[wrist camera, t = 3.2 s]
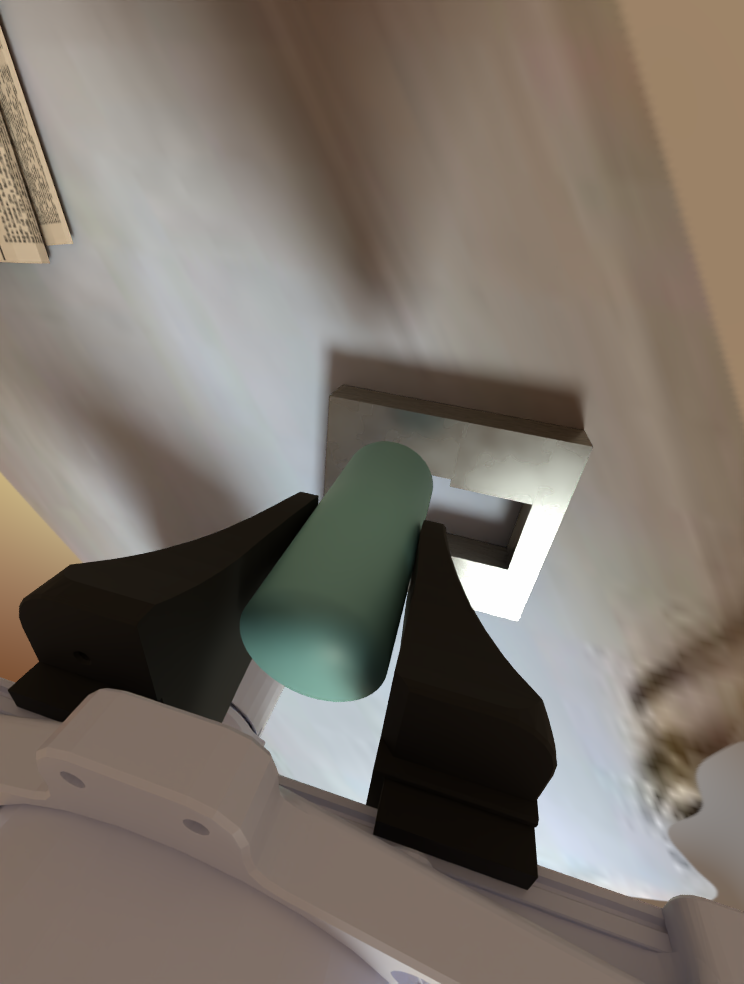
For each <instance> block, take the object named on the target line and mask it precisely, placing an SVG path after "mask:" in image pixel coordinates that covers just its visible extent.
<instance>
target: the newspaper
mask: <svg viewBox="0 0 744 984" xmlns="http://www.w3.org/2000/svg"><path fill="white" fill-rule="evenodd" d="M27 193H28V195H27ZM28 196H29V198H28ZM29 199H30V201H29ZM30 202H31V204H30ZM31 205H32V207H31ZM32 208H33V210H32ZM33 211H34V213H33ZM34 214H35V216H36V219H37V222H38V225H39V228H40V231H41V234H42V236H43V239H44V242H45V245H46V246H48V245H58V244H73V241H72V238H71V235H70V232H69V229H68V226H67V223H66V220H65V217H64V214H63V211H62V208H61V205H60V202H59V199H58V196H57V193H56V190H55V187H54V184H53V181H52V178H51V175H50V173H49V170H48V167H47V164H46V161H45V158H44V155H43V152H42V149H41V146H40V143H39V140H38V137H37V134H36V131H35V128H34V125H33V122H32V119H31V116H30V113H29V110H28V107H27V104H26V101H25V98H24V95H23V92H22V89H21V86H20V83H19V80H18V77H17V74H16V71H15V68H14V65H13V62H12V59H11V56H10V53H9V50H8V47H7V44H6V41H5V38H4V35H3V32H2V29H1V26H0V262H14V263H50V261H49V258H48V255H47V252H46V249H45V246H44V243H43V240H42V237H41V234H40V231H39V228H38V225H37V222H36V219H35V216H34Z"/></svg>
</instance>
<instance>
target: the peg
mask: <svg viewBox="0 0 744 984" xmlns="http://www.w3.org/2000/svg"><path fill="white" fill-rule="evenodd" d="M432 490H433V480H432V475H431V472H430V470H429V467H428V466H427V464H426V462H425V461H424V460H423V459H422V457H421V456H420V455H418V454H417V453H416V452H415V451H414V450H412V449H410V448H409V447H407V446H405V445H402V444H399V443H395V442H389V441H381V442H375V443H371V444H368V445H366V446H364V447H362V448H361V449H360V450H358V451H357V452H356V453H355V454H354V455H353V457H352V458H351V460H350V461H349V462H348V464H347V465H346V467H345V468H344V469H343V471H342V472H341V474H340V475H339V476H338V478H337V479H336V481H335V482H334V483H333V485H332V486H331V488H330V489H329V490H328V492H327V493H326V495H325V496H324V497H323V499H322V500H321V502H320V503H319V504H318V506H317V507H316V509H315V510H314V511H313V513H312V514H311V516H310V517H309V518H308V520H307V521H306V523H305V524H304V525H303V527H302V528H301V530H300V531H299V532H298V534H297V535H296V537H295V538H294V539H293V541H292V542H291V544H290V545H289V546H288V548H287V549H286V551H285V552H284V553H283V555H282V556H281V558H280V559H279V560H278V562H277V563H276V565H275V566H274V567H273V569H272V570H271V572H270V573H269V574H268V576H267V577H266V579H265V580H264V581H263V583H262V584H261V586H260V587H259V588H258V590H257V591H256V593H255V594H254V595H253V597H252V598H251V600H250V601H249V602H248V604H247V605H246V607H245V608H244V610H243V612H242V614H241V618H240V634H241V638H242V641H243V643H244V646H245V648H246V650H247V651H248V653H249V655H250V656H251V657H252V659H253V660H254V661H255V663H256V664H257V665H258V666H259V667H260V668H261V669H262V670H263V671H264V672H265V673H267V674H268V675H269V676H270V677H272V678H273V679H274V680H276V681H277V682H279V683H280V684H282V685H283V686H285V687H287V688H289V689H291V690H293V691H295V692H297V693H300V694H302V695H305V696H308V697H311V698H315V699H319V700H325V701H333V702H346V701H354V700H358V699H361V698H364V697H367V696H369V695H370V694H372V693H374V692H375V691H376V690H377V689H378V688H379V687H380V686H381V685H382V683H383V682H384V680H385V678H386V675H387V671H388V667H389V663H390V659H391V655H392V651H393V647H394V643H395V639H396V635H397V631H398V627H399V623H400V619H401V615H402V611H403V607H404V603H405V599H406V595H407V591H408V587H409V583H410V579H411V575H412V571H413V567H414V562H415V556H416V551H417V546H418V541H419V536H420V531H421V528H422V524H423V521H424V520H425V519H426V515H427V511H428V507H429V503H430V499H431V495H432Z"/></svg>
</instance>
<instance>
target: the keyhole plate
mask: <svg viewBox="0 0 744 984" xmlns="http://www.w3.org/2000/svg"><path fill="white" fill-rule="evenodd" d="M381 441H389V442H395V443H399V444H402V445H405V446H407V447H409V448H410V449H412V450H414V451H415V452H416V453H417V454H418V455H420V456H421V457H422V459H423V460H424V461H425V462H426V464H427V466H428V467H429V470H430V472H431V475H433V476H438V477H442V478H447V479H451V483H450V487H455V488H459V489H464V490H468V491H473V492H477V493H482V494H486V495H491V496H495V497H500V498H504V499H509V500H514V501H518V502H523V504H522V507H521V510H520V513H519V515H518V518H517V521H516V524H515V527H514V529H513V532H512V535H511V538H510V540H509V543H508V546H507V548H506V547H502V546H497V545H493V544H489V543H485V542H481V541H477V540H472V539H468V538H464V537H460V536H456V535H452V534H447V533H446V535H447V541H448V545H449V550H450V553H451V557H452V560H453V563H454V566H455V569H456V572H457V574H458V577H459V580H460V582H461V584H462V587H463V589H464V591H465V594H466V596H467V598H468V600H469V602H470V604H471V606H472V608H473V610H477V611H481V612H485V613H488V614H492V615H496V616H500V617H503V618H507V619H511V620H515V621H518V620H519V617H520V615H521V613H522V610H523V608H524V606H525V603H526V601H527V599H528V596H529V594H530V592H531V589H532V587H533V585H534V583H535V580H536V578H537V576H538V573H539V571H540V569H541V566H542V564H543V562H544V559H545V557H546V555H547V552H548V550H549V548H550V546H551V543H552V541H553V539H554V536H555V534H556V532H557V529H558V527H559V525H560V522H561V520H562V518H563V515H564V513H565V511H566V509H567V506H568V504H569V502H570V499H571V497H572V495H573V492H574V490H575V488H576V485H577V483H578V481H579V479H580V476H581V474H582V472H583V469H584V467H585V465H586V462H587V460H588V458H589V455H590V453H591V451H592V448H593V446H592V444H591V442H590V440H589V438H588V436H587V434H586V432H585V431H584V430H580V429H574V428H569V427H564V426H558V425H553V424H548V423H543V422H537V421H532V420H527V419H521V418H516V417H511V416H505V415H500V414H495V413H490V412H484V411H479V410H474V409H468V408H463V407H458V406H452V405H447V404H442V403H437V402H431V401H426V400H421V399H415V398H410V397H405V396H399V395H394V394H389V393H384V392H378V391H373V390H368V389H362V388H357V387H352V386H346V385H342V386H340V387H339V388H338V389H337V390H336V391H334V392H333V393H332V394H331V395H330V396H329V413H328V431H327V449H326V466H325V484H324V496H325V495H326V493H327V492H328V490H329V489H330V488H331V486H332V485H333V483H334V482H335V481H336V479H337V478H338V476H339V475H340V474H341V472H342V471H343V469H344V468H345V467H346V465H347V464H348V462H349V461H350V460H351V458H352V457H353V455H354V454H355V453H356V452H357V451H358V450H360V449H361V448H362V447H364V446H366V445H368V444H371V443H375V442H381ZM410 580H411V579H410ZM409 585H410V583H409ZM408 589H409V587H408ZM407 592H408V591H407Z"/></svg>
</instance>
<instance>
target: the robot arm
mask: <svg viewBox="0 0 744 984" xmlns="http://www.w3.org/2000/svg"><path fill="white" fill-rule="evenodd" d="M317 506H318V496H317V495H313V494H308V493H304V492H299V493H297V494H295V495H293V496H291V497H289V498H287V499H285V500H284V501H282V502H280V503H278V504H276V505H274V506H272V507H270V508H268V509H266V510H265V511H263V512H261V513H259V514H257V515H255V516H253V517H251V518H248V519H246V520H244V521H242V522H240V523H237V524H235V525H233V526H231V527H229V528H226V529H224V530H221V531H219V532H216V533H214V534H211V535H208V536H205V537H202V538H200V539H197V540H193V541H190V542H187V543H183V544H180V545H176V546H172V547H169V548H165V549H162V550H157V551H153V552H148V553H144V554H139V555H134V556H129V557H123V558H117V559H111V560H103V561H96V562H88V563H80V564H72V565H69V566H68V567H66V568H65V569H64V570H62V571H61V572H60V573H58V574H57V575H55V576H54V577H53V578H51V579H50V580H48V581H47V582H46V583H44V584H43V585H42V586H40V587H39V588H37V589H36V590H35V591H33V592H32V593H30V594H29V595H28V596H26V597H25V598H24V599H23V600H22V602H21V604H20V606H19V607H20V608H19V618H20V621H21V624H22V627H23V629H24V631H25V633H26V635H27V637H28V639H29V641H30V643H31V646H32V648H33V650H34V652H35V654H36V656H37V658H38V660H39V662H38V663H37V664H36V665H35V666H34V667H33V668H32V669H30V670H29V671H28V672H27V673H26V674H25V675H24V676H23V677H22V678H20V679H19V680H18V681H17V682H16V683H14V682H12V681H9V680H6V679H3V678H0V984H744V911H741V910H738V909H735V908H732V907H729V906H726V905H723V904H720V903H717V902H714V901H711V900H708V899H706V898H702V897H698V896H694V895H679V896H676V897H673V898H672V899H670V900H669V901H668V902H667V904H666V905H665V906H664V907H663V908H660V907H657V906H654V905H651V904H648V903H645V902H642V901H639V900H636V899H634V898H631V897H628V896H625V895H622V894H620V893H617V892H614V891H611V890H608V889H605V888H602V887H599V886H597V885H594V884H591V883H588V882H585V881H582V880H579V879H577V878H574V877H571V876H568V875H565V874H562V873H559V872H556V871H554V870H551V869H548V868H545V867H542V866H539V865H537V855H536V843H535V830H534V827H537V825H538V821H539V816H538V805H537V799H538V797H539V796H540V794H541V793H542V791H543V790H544V788H545V787H546V785H547V784H548V782H549V781H550V779H551V778H552V776H553V775H554V772H555V769H556V767H557V760H556V749H555V743H554V738H553V734H552V730H551V726H550V722H549V719H548V715H547V712H546V709H545V706H544V703H543V700H542V699H541V697H540V696H539V695H538V694H537V693H536V692H535V691H534V690H533V689H532V688H531V687H530V686H529V685H528V683H527V682H526V681H525V680H524V679H523V678H522V677H521V676H520V675H519V674H518V673H517V672H516V670H515V669H514V668H513V667H512V666H511V664H510V663H509V662H508V661H507V659H506V658H505V657H504V656H503V654H502V653H501V652H500V650H499V649H498V647H497V646H496V644H495V643H494V642H493V640H492V639H491V637H490V636H489V634H488V633H487V632H486V630H485V628H484V627H483V625H482V623H481V622H480V620H479V618H478V617H477V615H476V613H475V611H474V610H473V608H472V606H471V604H470V602H469V600H468V598H467V596H466V594H465V591H464V589H463V587H462V584H461V582H460V580H459V577H458V574H457V572H456V569H455V566H454V563H453V560H452V557H451V553H450V550H449V545H448V541H447V535H446V527H445V526H444V524H440V523H436V522H431V521H427V520H424V521H423V524H422V528H421V531H420V536H419V541H418V546H417V551H416V556H415V562H414V567H413V571H412V575H411V580H410V585H409V589H408V594H407V600H406V608H405V616H404V623H403V631H402V639H401V646H400V652H399V656H398V660H397V664H396V668H395V672H394V677H393V682H392V686H391V691H390V696H389V701H388V705H387V710H386V715H385V719H384V724H383V729H382V734H381V738H380V742H379V747H378V751H377V756H376V760H375V764H374V769H373V774H372V779H371V784H370V788H369V793H368V798H367V803H366V805H364V804H362V803H359V802H356V801H353V800H350V799H347V798H344V797H341V796H339V795H336V794H333V793H330V792H327V791H324V790H321V789H319V788H316V787H313V786H310V785H307V784H304V783H301V782H298V781H296V780H293V779H290V778H287V777H284V776H281V775H279V774H278V771H277V768H276V765H275V763H274V761H273V759H272V756H271V754H270V752H269V751H268V750H267V749H266V748H264V745H265V741H264V740H262V739H261V738H260V736H261V734H262V732H263V730H264V728H265V726H266V724H267V722H268V720H269V717H270V715H271V713H272V711H273V709H274V707H275V705H276V703H277V701H278V699H279V697H280V695H281V693H282V691H283V689H284V687H285V686H283V685H282V684H280V683H279V682H277V681H276V680H274V679H273V678H272V677H270V676H269V675H268V674H267V673H265V672H264V671H263V670H262V669H261V668H260V667H259V666H258V665H257V664H256V663H255V661H254V660H253V659H252V657H251V656H250V655H249V653H248V651H247V650H246V648H245V646H244V643H243V641H242V638H241V634H240V618H241V614H242V612H243V610H244V608H245V607H246V605H247V604H248V602H249V601H250V600H251V598H252V597H253V595H254V594H255V593H256V591H257V590H258V588H259V587H260V586H261V584H262V583H263V581H264V580H265V579H266V577H267V576H268V574H269V573H270V572H271V570H272V569H273V567H274V566H275V565H276V563H277V562H278V560H279V559H280V558H281V556H282V555H283V553H284V552H285V551H286V549H287V548H288V546H289V545H290V544H291V542H292V541H293V539H294V538H295V537H296V535H297V534H298V532H299V531H300V530H301V528H302V527H303V525H304V524H305V523H306V521H307V520H308V518H309V517H310V516H311V514H312V513H313V511H314V510H315V509H316V507H317Z"/></svg>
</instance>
